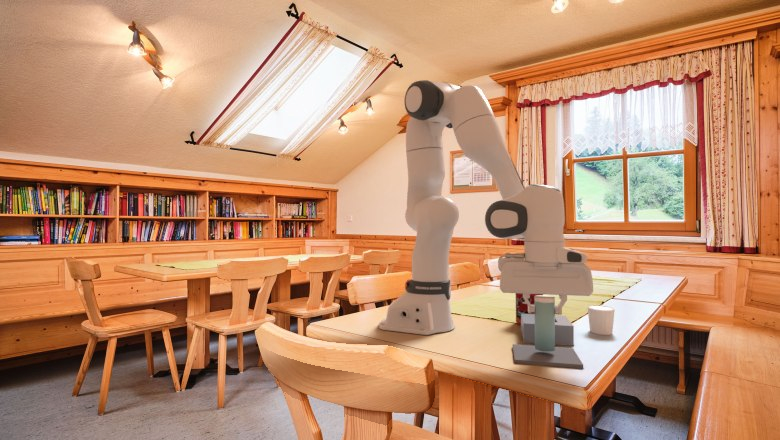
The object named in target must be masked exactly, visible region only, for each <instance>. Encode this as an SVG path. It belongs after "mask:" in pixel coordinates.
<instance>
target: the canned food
mask: <svg viewBox="0 0 780 440" xmlns="http://www.w3.org/2000/svg"><path fill="white" fill-rule="evenodd" d="M536 295H544V294H530V298H527V299H528V300H529V302H530V304H532V305H535V301H534V296H536ZM521 314H535V313H528V305H527V303H526V302H525V300H524V298H523V293H515V322H516V324H517V325H518V326H521Z"/></svg>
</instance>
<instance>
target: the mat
mask: <svg viewBox="0 0 780 440" xmlns="http://www.w3.org/2000/svg"><path fill="white" fill-rule="evenodd" d="M512 353H513V360H514V364H519V365H520V364H521V365H532V366H533V365H534V366H544V367H546V366H547V367H560V368H569V369H570V368H571V369H582V370H583V369H584V363H583V362H582V360H581V359H580V357H579V356H578V354H577V352H576V350H575V349H574V348H572V347H562V346H561V347H559V346H558V347H557V346H555V350H554V351H551V352H546V351H540V350H537V349H535V345H530V344H516V343H515V344H514V343H512Z"/></svg>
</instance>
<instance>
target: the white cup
mask: <svg viewBox="0 0 780 440" xmlns="http://www.w3.org/2000/svg"><path fill="white" fill-rule="evenodd" d="M615 310H616V309H615V308H614V307H610V306H606V305H605V306H604V305H590V306H589V305H588V306H587V313H588V314H587V315H588V323H589V331H590V333H592V334H596V335H601V336H603V335H604V336H611V335H612V334H613V333H614V332H613V329H614V321H615V320H614V319H615Z"/></svg>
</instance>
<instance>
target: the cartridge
mask: <svg viewBox="0 0 780 440" xmlns="http://www.w3.org/2000/svg"><path fill="white" fill-rule="evenodd" d="M555 298H556V297H555V296H553V295H548V294H543V295H536V296H534V301H535V343H534V346H535V349H537V350H540V351H546V352H551V351H554V350H555V347H556V345H555V315H556V314H555V306H556V305H555V304H556V299H555Z"/></svg>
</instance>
